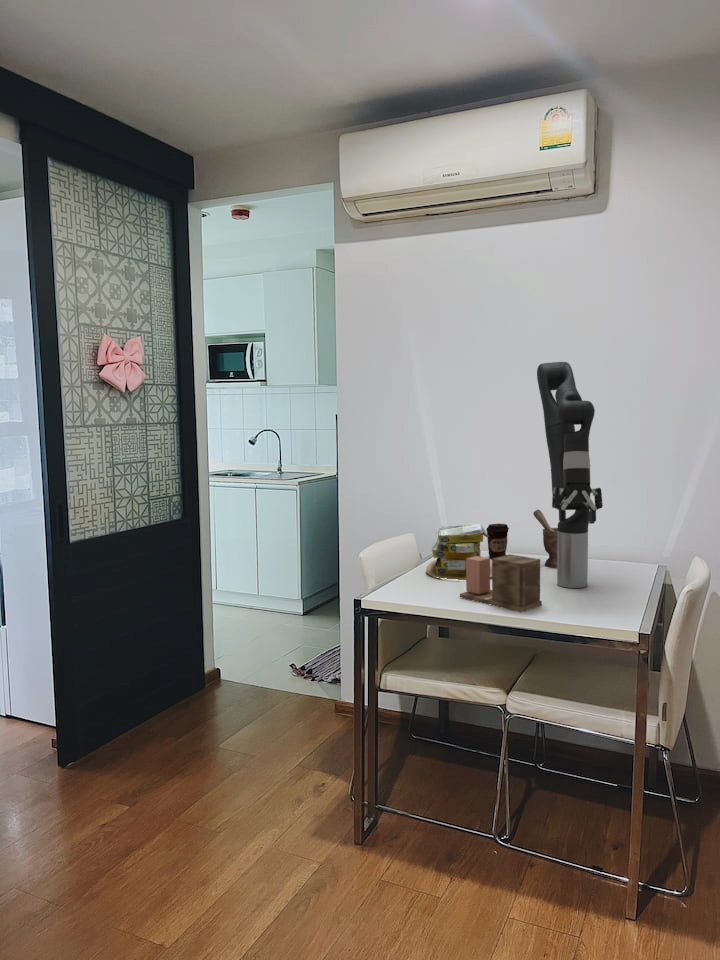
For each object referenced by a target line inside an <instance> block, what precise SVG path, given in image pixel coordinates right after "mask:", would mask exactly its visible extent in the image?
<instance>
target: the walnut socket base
mask: <svg viewBox="0 0 720 960" xmlns="http://www.w3.org/2000/svg"><path fill="white" fill-rule="evenodd" d="M460 597H462V598H461V599H463V598H466V599H465V600H467V599H469V600H468V601H472V600H474V601H473V602H476V601H478V602H477V603H480V602H482V603H481V604H484V603H486V604H485V605H489V604H491V605H490V606H493V605H494V607H497V606H498V608H501V607H502V609H506V610H510V611H514V612H518V613H519V612H520V613H523V612H526V611H528V610H531V609H534V608H537V607H540V606H542V605H543V604H542V603H543V601H542V600H541V559H540V558H534V557H528V556H523V555H515V554H509V553H508V554H506V555H505V556H501V557H497V558H493V559H492V577H491V589H490V591H489V592H485V593H482V594H476V593H472V592H468V591H465V592H461V593H459V598H460Z"/></svg>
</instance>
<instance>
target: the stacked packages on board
mask: <svg viewBox="0 0 720 960" xmlns="http://www.w3.org/2000/svg"><path fill="white" fill-rule="evenodd" d="M435 534H437V540H436V542H435V543H434V544H433V546H432V549H431V552H432V556H433V558H434V559H435V558H436V559H435V560H433V561H431V562H429V563H428V565H426V568H425V570H426V573H427V574H428V575H430V576H431V577H432V578H435V577H439V578H447V579H458V580H466V559H467V558H471V557H475V556H479V557H482V556H481V552H482V551H481V543H482V542H484V536H485V538H487V537H489V536H488V535H487V531H486V529H485V528H484V527H483V525H482V524H481V523H476V524H475V523H474V524H467V525H466V524H465V525H461V524H459V525H442V526H439V528H438V531H437V532H436V533H435ZM490 578H492V560H491V559H490Z"/></svg>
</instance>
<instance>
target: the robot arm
mask: <svg viewBox="0 0 720 960" xmlns="http://www.w3.org/2000/svg"><path fill="white" fill-rule="evenodd" d="M536 380H537V385H538V389H539V396H540V401H541V405H542V410H543V419H544V429H545V437H546V445H547V450H548V456H549V462H550V463H549V464H550V476H551V477H550V478H551V491H552V492H551V493H552V496H551V497H552V499H551V506H552V508H553V509H556V510H558V523H557V528H558V551H557V567H556V568H557V569H556V572H557V574H556V577H557V578H556V581H557V583H556V584H557V585H558V586H559V587H561V588H562V587H563V588H569V589H571V588H572V589H581V588H586V587H588V579H589V578H588V577H589V576H588V575H589V574H588V572H589V566H588V565H589V524H590V525H592V524H595V522H596V521H597V510H599V509H600V510H601V509H602V508H603V506H604V505H603V498H602V497H603V496H602V494H603V493H602V489H601V487H598V488H597V487H596V488H592V487H591V459H590V452H589V451H590V445H589V444H590V443H589V441H590V439H589V437H590V432H591V427H592V424H593V420H594V417H595V411H596V410H595V406H594V404H593V403H592V402H591V401H589V400H583V398H582V396H581V394H580V393H579V391H578V389H577V385H576V380H575V375H574V372H573V369H572V366H571V364H570V363H568V362H567V361H553V362H545V363H541V364H539V365H538V366H537V370H536ZM552 391H555V396H554V395H553V392H552ZM575 425H578V426H579V425H580V429H579V430H576V428H575ZM591 494H592V496H594V497H593V498H594V501H593V500H592V499H591ZM567 511H574V512H573V514H572V515H570V516H569V517H567Z"/></svg>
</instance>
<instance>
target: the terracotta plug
mask: <svg viewBox="0 0 720 960" xmlns="http://www.w3.org/2000/svg"><path fill="white" fill-rule="evenodd" d="M465 584H466V585H465V586H466V590H465V592H472V593H476V594H482V593H485V592H489V591H490V590H491V577H490V558H489V557H485V556H481V557H479V556H475V557H471V558H467V559H466V582H465Z"/></svg>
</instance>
